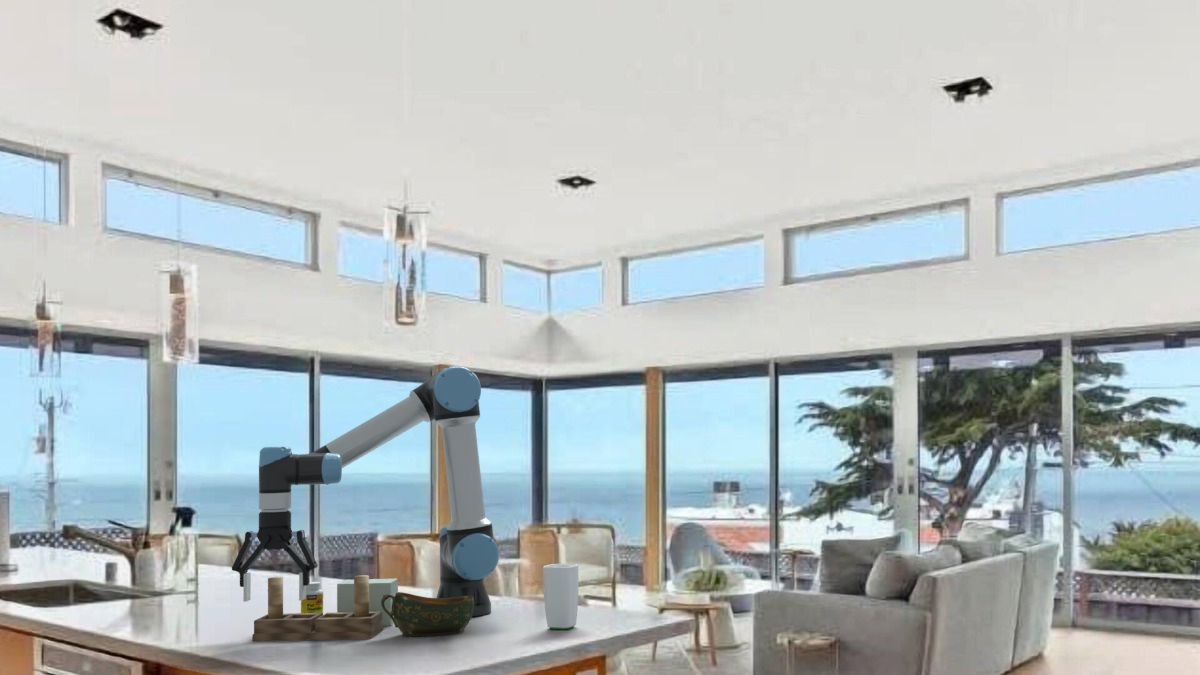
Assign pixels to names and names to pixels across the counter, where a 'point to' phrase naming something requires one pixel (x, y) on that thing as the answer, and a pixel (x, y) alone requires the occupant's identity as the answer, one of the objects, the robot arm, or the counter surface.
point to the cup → (560, 595)
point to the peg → (275, 598)
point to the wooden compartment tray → (325, 621)
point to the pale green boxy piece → (375, 596)
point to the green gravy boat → (429, 614)
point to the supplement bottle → (313, 599)
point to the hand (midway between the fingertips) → (274, 600)
